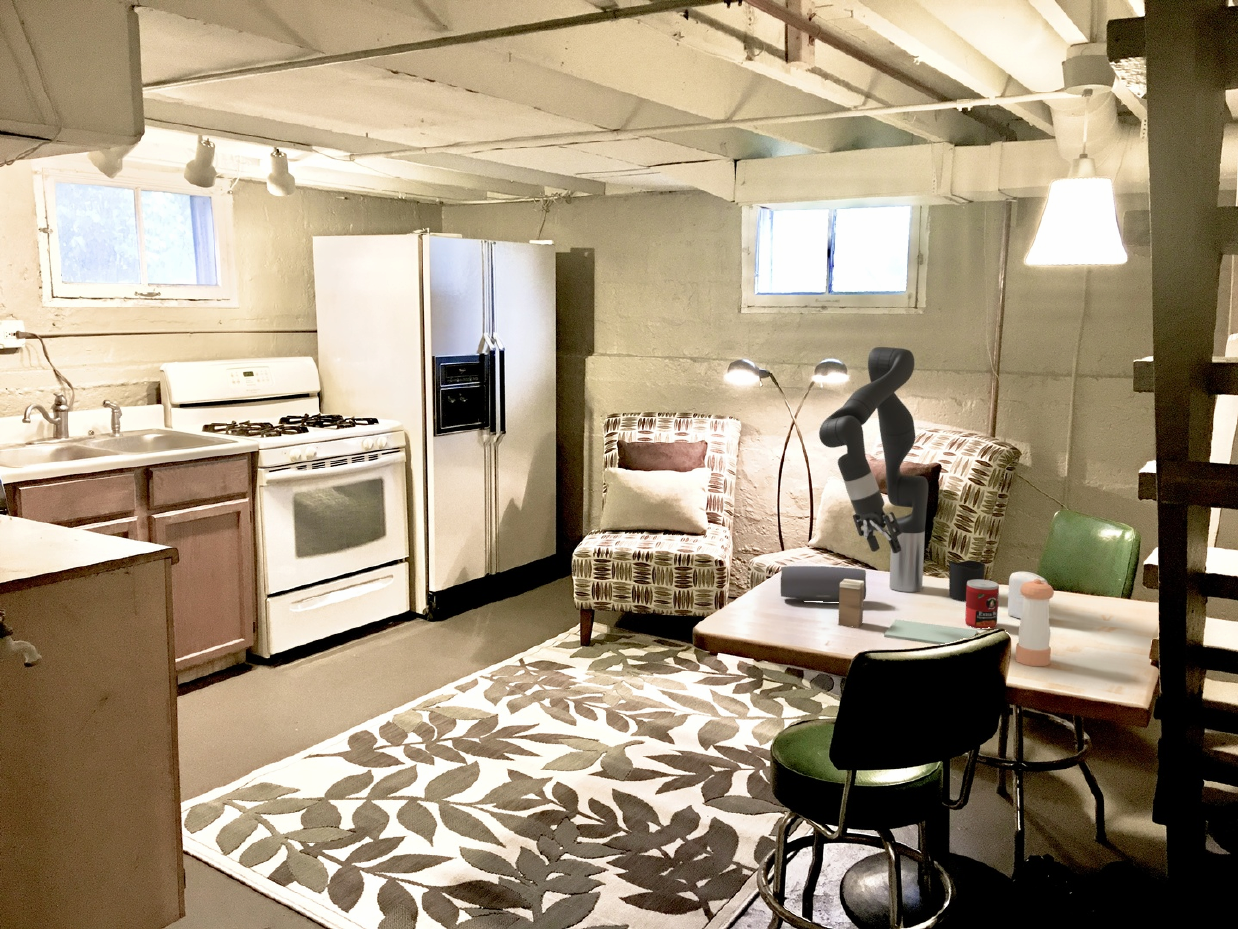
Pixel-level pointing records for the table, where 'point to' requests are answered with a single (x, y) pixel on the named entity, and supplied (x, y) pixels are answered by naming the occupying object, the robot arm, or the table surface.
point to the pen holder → (963, 577)
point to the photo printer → (1014, 591)
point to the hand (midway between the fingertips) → (886, 551)
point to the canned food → (981, 603)
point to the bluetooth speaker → (817, 582)
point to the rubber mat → (927, 632)
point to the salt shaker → (1034, 624)
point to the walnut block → (851, 602)
